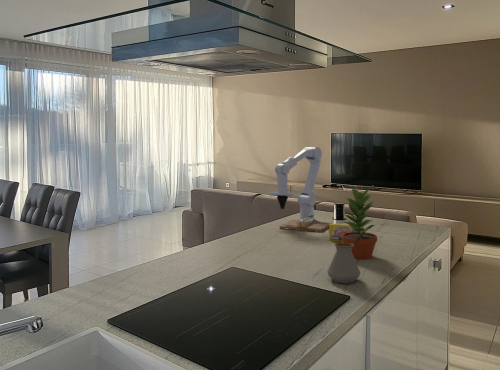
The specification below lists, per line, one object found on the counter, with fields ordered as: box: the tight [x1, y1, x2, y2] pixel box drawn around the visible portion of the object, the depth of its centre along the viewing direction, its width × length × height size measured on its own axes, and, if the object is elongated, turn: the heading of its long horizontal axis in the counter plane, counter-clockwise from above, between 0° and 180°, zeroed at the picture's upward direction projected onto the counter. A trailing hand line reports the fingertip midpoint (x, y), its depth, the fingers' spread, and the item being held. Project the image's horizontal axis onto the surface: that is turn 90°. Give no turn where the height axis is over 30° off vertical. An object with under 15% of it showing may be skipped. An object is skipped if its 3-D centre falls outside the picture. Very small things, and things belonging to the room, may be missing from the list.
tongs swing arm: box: [297, 218, 309, 227], centre depth 250 cm, size 13×2×2 cm, turn 153°
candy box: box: [328, 223, 365, 242], centre depth 217 cm, size 16×2×8 cm, turn 73°
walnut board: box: [278, 219, 333, 233], centre depth 251 cm, size 19×24×2 cm
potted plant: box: [340, 186, 378, 261], centre depth 189 cm, size 15×15×30 cm
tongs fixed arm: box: [301, 214, 315, 227], centre depth 251 cm, size 17×4×4 cm, turn 153°
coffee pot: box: [327, 231, 368, 284], centre depth 164 cm, size 21×12×15 cm, turn 139°
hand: (282, 208), depth 256 cm, fingers closed
